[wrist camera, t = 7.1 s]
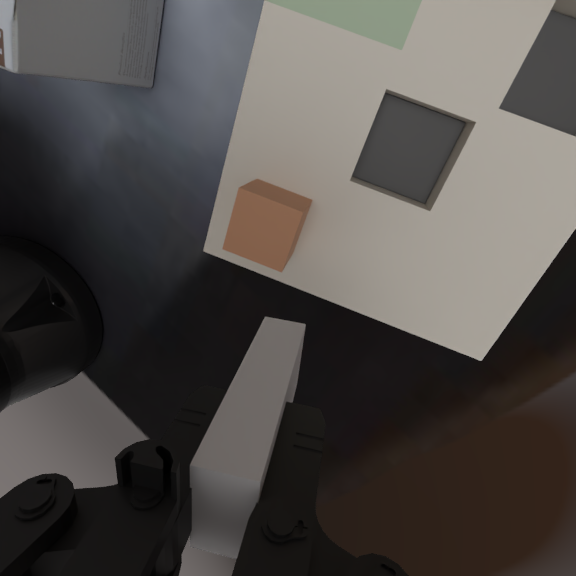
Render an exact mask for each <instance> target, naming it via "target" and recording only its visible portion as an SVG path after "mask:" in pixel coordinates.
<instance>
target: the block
mask: <svg viewBox="0 0 576 576" xmlns="http://www.w3.org/2000/svg"><path fill="white" fill-rule="evenodd" d="M311 203H312V199H309V198H307V197H304V196H301V195H299V194H296V193H294V192H291V191H288V190H286V189H283V188H281V187H278V186H275V185H273V184H270V183H268V182H265V181H262V180H260V179H255V180H253V181H251V182H249V183H247V184H245V185H243V186H241V187H239V188H238V192H237V196H236V199H235V203H234V207H233V211H232V214H231V218H230V222H229V226H228V229H227V233H226V237H225V240H224V244H223V248H222V249H223V250H226V251H228V252H231V253H233V254H236V255H238V256H241V257H244V258H246V259H249V260H251V261H254V262H256V263H259V264H261V265H264V266H266V267H269V268H272V269H274V270H277V271H279V272H282V271H283V270H284V268H285V266H286V264H287V263H288V261H289V259H290V258H291V256H292V254H293V252H294V250H295V247H296V244H297V241H298V239H299V236H300V233H301V230H302V228H303V225H304V222H305V219H306V217H307V214H308V211H309V208H310V206H311Z"/></svg>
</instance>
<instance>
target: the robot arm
mask: <svg viewBox="0 0 576 576" xmlns="http://www.w3.org/2000/svg"><path fill="white" fill-rule="evenodd" d="M305 326H306V324H302V323H297V322H291V321H286V320H281V319H275V318H270V317H265V318H264V320H263V322H262V324H261V326H260V328H259V330H258V332H257V334H256V336H255V338H254V340H253V342H252V343H251V345H250V347H249V349H248V351H247V353H246V355H245V357H244V359H243V361H242V363H241V365H240V367H239V369H238V371H237V373H236V375H235V377H234V379H233V381H232V383H231V385H230V387H229V389H228V390H225V389H220V388H215V387H211V386H206V385H203V386H201V387H200V388H199V389H197V390H196V391H194V392H193V393H192V394H190V395H189V397H188V398H187V400H186V402H185V403H184V405H183V406H182V408H181V411H179V413H178V414H177V416H176V417H175V419H174V422H172V423H171V425H170V427H169V428H168V430H167V431H166V433H165V434H164V436H163V438H162V439H161V440H151V439H149V440H144V441H140V442H136V443H134V444H132V445H130V446H128V447H127V448H125V449H124V450H122V451H121V452H120V453H119V454H118V455H117V456H116V457H115V462H116V471H117V479H118V484H116V485H112V486H107V487H98V488H83V489H74V487H73V483H72V482H71V481H70V480H69V479H68V478H67V477H66V476H63V475H60V474H56V473H54V474H42V475H39V476H36V477H33V478H30V479H28V480H26V481H24V482H23V483H21V484H19V485H18V486H16V487H14V488H13V489H12V490H10V491H9V492H8V493H7V494H5V495H4V496H3V497H1V498H0V576H179V572H180V568H181V563H182V562H181V554H182V552H183V550H184V547H185V545H186V542H187V540H188V538H189V536H190V547H193V548H197V549H200V550H204V551H208V552H212V553H215V554H219V555H223V556H226V557H230V558H234V559H237V560H236V564H235V567H234V570H233V574H232V576H408V575H407V574H406V572H405V571H404V570H403V569H402V568H401V567H400V566H399V565H398V564H397V563H395V562H394V561H392V560H391V559H389V558H387V557H386V556H382V555H377V554H373V553H371V554H367V555H362V556H359V557H358V558H356V557H355V556H353V555H351V554H350V553H348V552H347V551H345V550H344V549H342V548H341V547H339V546H338V545H336V544H335V543H334V542H333V541H331V540H330V539H329V538H328V536H327V535H326V534H325V533H324V532H323V530H322V528H321V526H320V524H319V522H318V520H317V516H316V495H317V487H318V479H319V471H320V463H321V455H322V447H323V439H324V431H325V420H324V418H323V415H322V413H321V410H320V409H319V408H315V407H310V406H305V405H300V404H296V403H292V402H293V398H294V394H295V390H296V386H297V380H298V373H299V367H300V360H301V353H302V346H303V339H304V333H305ZM101 342H102V322H101V317H100V313H99V310H98V307H97V305H96V302H95V300H94V298H93V296H92V294H91V292H90V291H89V289H88V287H87V286H86V285H85V283H84V282H83V280H82V279H81V278H80V277H79V275H78V274H77V273H76V272H75V271H74V270H73V269H72V268H71V267H70V266H69V265H68V264H67V263H66V262H65V261H64V260H62V259H61V258H60V257H59V256H57V255H56V254H54V253H53V252H51V251H50V250H48V249H47V248H45V247H43V246H41V245H39V244H37V243H34V242H32V241H29V240H26V239H22V238H17V237H8V236H3V237H0V412H1V411H2V410H4V409H5V408H6V407H8V406H9V405H12V404H14V403H16V402H19V401H21V400H23V399H25V398H28V397H30V396H33V395H35V394H37V393H40V392H42V391H44V390H46V389H48V388H51V387H55V386H58V385H61V384H64V383H66V382H68V381H69V380H71V379H73V378H74V377H75V376H77V375H78V374H79V373H80V372H81V371H83V370H84V369H85V368H86V367H87V366H88V365H90V364H91V363H92V362H93V360H94V359H95V358H96V356H97V354H98V352H99V350H100V347H101Z"/></svg>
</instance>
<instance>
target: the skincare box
mask: <svg viewBox="0 0 576 576" xmlns="http://www.w3.org/2000/svg"><path fill="white" fill-rule="evenodd" d="M163 3H164V0H0V68H2V69H5V70H8V71H10V72H13V73H16V74H27V75H38V76H48V77H57V78H65V79H74V80H83V81H92V82H101V83H109V84H118V85H127V86H136V87H143V88H152V86H153V79H154V71H155V63H156V56H157V48H158V41H159V33H160V26H161V18H162V11H163Z"/></svg>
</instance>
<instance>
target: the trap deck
mask: <svg viewBox="0 0 576 576" xmlns="http://www.w3.org/2000/svg"><path fill="white" fill-rule="evenodd" d="M386 93H388V94H386ZM384 94H385V95H384ZM389 94H391V95H389ZM392 95H393V96H392ZM383 96H384V98H383ZM394 96H396V97H394ZM397 97H399V98H397ZM400 98H401V99H400ZM382 99H383V100H382ZM402 99H404V100H402ZM405 100H407V101H405ZM381 101H382V103H381ZM408 101H410V102H412V103H410V102H408ZM413 103H415V104H413ZM380 104H381V105H380ZM416 104H418V105H416ZM419 105H420V106H419ZM379 106H380V108H379ZM421 106H423V107H421ZM424 107H426V108H424ZM427 108H429V109H431V110H429V109H427ZM378 109H379V110H378ZM432 110H434V111H432ZM377 111H378V113H377ZM435 111H437V112H435ZM438 112H439V113H438ZM440 113H442V114H440ZM376 114H377V115H376ZM443 114H445V115H443ZM446 115H447V116H446ZM375 116H376V118H375ZM448 116H450V117H448ZM451 117H453V118H451ZM454 118H456V119H458V120H456V119H454ZM374 119H375V120H374ZM459 120H461V121H459ZM373 121H374V123H373ZM462 121H464V122H462ZM465 122H466V123H465ZM372 124H373V125H372ZM464 125H465V126H464ZM371 126H372V128H371ZM463 127H464V128H463ZM370 129H371V130H370ZM462 129H463V130H462ZM369 131H370V133H369ZM461 131H462V132H461ZM460 133H461V134H460ZM368 134H369V135H368ZM459 135H460V136H459ZM367 136H368V138H367ZM458 137H459V138H458ZM366 139H367V140H366ZM457 139H458V140H457ZM365 141H366V143H365ZM456 141H457V142H456ZM455 143H456V144H455ZM364 144H365V145H364ZM454 145H455V146H454ZM363 146H364V148H363ZM453 147H454V148H453ZM362 149H363V150H362ZM452 149H453V150H452ZM361 151H362V153H361ZM451 151H452V152H451ZM450 153H451V154H450ZM360 154H361V155H360ZM449 155H450V156H449ZM359 156H360V158H359ZM448 157H449V158H448ZM358 159H359V160H358ZM447 159H448V160H447ZM357 161H358V163H357ZM446 161H447V162H446ZM356 164H357V165H356ZM355 166H356V168H355ZM354 169H355V170H354ZM353 171H354V173H353ZM352 174H353V175H352ZM353 176H354V177H353ZM355 177H356V178H355ZM358 178H359V179H358ZM255 179H260V180H262V181H265V182H268V183H270V184H273V185H275V186H278V187H281V188H283V189H286V190H288V191H291V192H294V193H296V194H299V195H301V196H304V197H307V198H309V199H312V203H311V206H310V208H309V211H308V214H307V217H306V219H305V222H304V225H303V228H302V230H301V233H300V236H299V239H298V241H297V244H296V247H295V250H294V252H293V254H292V256H291V258H290V259H289V261H288V263H287V264H286V266H285V268H284V270H283V271H282V272H279V271H277V270H274V269H272V268H269V267H266V266H264V265H261V264H259V263H256V262H254V261H251V260H249V259H246V258H244V257H241V256H238V255H236V254H233V253H231V252H228V251H226V250H223V249H222V248H223V244H224V240H225V237H226V233H227V229H228V226H229V222H230V218H231V214H232V211H233V207H234V203H235V199H236V196H237V192H238V188H239V187H241V186H243V185H245V184H247V183H249V182H251V181H253V180H255ZM361 179H362V180H361ZM363 180H364V181H363ZM366 181H367V182H366ZM368 182H370V183H368ZM371 183H372V184H371ZM374 184H375V185H374ZM376 185H377V186H376ZM379 186H380V187H379ZM382 187H383V188H382ZM384 188H385V189H384ZM387 189H388V190H387ZM390 190H391V191H390ZM392 191H393V192H392ZM395 192H396V193H395ZM397 193H398V194H397ZM400 194H401V195H400ZM403 195H404V196H403ZM405 196H406V197H405ZM408 197H409V198H408ZM411 198H412V199H411ZM413 199H414V200H413ZM416 200H417V201H416ZM418 201H420V202H418ZM421 202H422V203H421ZM424 203H425V204H424ZM575 229H576V0H265V1H264V5H263V9H262V13H261V17H260V21H259V25H258V29H257V33H256V37H255V41H254V46H253V50H252V54H251V58H250V62H249V66H248V70H247V74H246V78H245V82H244V86H243V91H242V95H241V99H240V103H239V107H238V111H237V115H236V119H235V123H234V127H233V131H232V135H231V140H230V144H229V148H228V152H227V156H226V160H225V164H224V168H223V172H222V176H221V180H220V185H219V189H218V193H217V197H216V201H215V205H214V209H213V213H212V217H211V221H210V225H209V230H208V234H207V238H206V242H205V246H204V250H203V251H204V252H207V253H209V254H212V255H214V256H217V257H219V258H222V259H224V260H227V261H229V262H232V263H234V264H237V265H239V266H242V267H245V268H247V269H250V270H252V271H255V272H257V273H260V274H262V275H265V276H267V277H270V278H272V279H275V280H277V281H280V282H283V283H285V284H288V285H290V286H293V287H295V288H298V289H300V290H303V291H305V292H308V293H310V294H313V295H315V296H318V297H320V298H323V299H326V300H328V301H331V302H333V303H336V304H338V305H341V306H343V307H346V308H348V309H351V310H353V311H356V312H358V313H361V314H364V315H366V316H369V317H371V318H374V319H376V320H379V321H381V322H384V323H386V324H389V325H391V326H394V327H396V328H399V329H401V330H404V331H407V332H409V333H412V334H414V335H417V336H419V337H422V338H424V339H427V340H429V341H432V342H434V343H437V344H439V345H442V346H444V347H447V348H450V349H452V350H455V351H457V352H460V353H462V354H465V355H467V356H470V357H472V358H475V359H477V360H480V361H482V359H483V358H484V357H485V355H486V354H487V352H488V351H489V350H490V348H491V347H492V345H493V344H494V342H495V341H496V340H497V338H498V337H499V335H500V334H501V333H502V331H503V330H504V328H505V327H506V326H507V324H508V323H509V321H510V320H511V319H512V317H513V316H514V314H515V313H516V312H517V310H518V309H519V307H520V306H521V305H522V303H523V302H524V300H525V299H526V297H527V296H528V295H529V293H530V292H531V290H532V289H533V288H534V286H535V285H536V283H537V282H538V281H539V279H540V278H541V276H542V275H543V274H544V272H545V271H546V269H547V268H548V267H549V265H550V264H551V262H552V261H553V260H554V258H555V257H556V255H557V254H558V252H559V251H560V250H561V248H562V247H563V245H564V244H565V243H566V241H567V240H568V238H569V237H570V236H571V234H572V233H573V231H574V230H575Z"/></svg>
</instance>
